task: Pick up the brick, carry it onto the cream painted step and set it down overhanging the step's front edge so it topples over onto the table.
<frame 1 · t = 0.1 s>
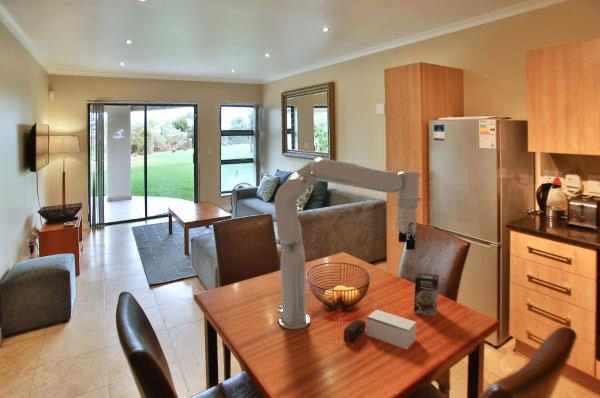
hand: (406, 245, 143), 31 cm above the table, tool pointing down, fingers open, 9 cm apart
step: (390, 337, 135), on the table
brick: (354, 336, 137), on the table
coffee box: (425, 312, 154), on the table
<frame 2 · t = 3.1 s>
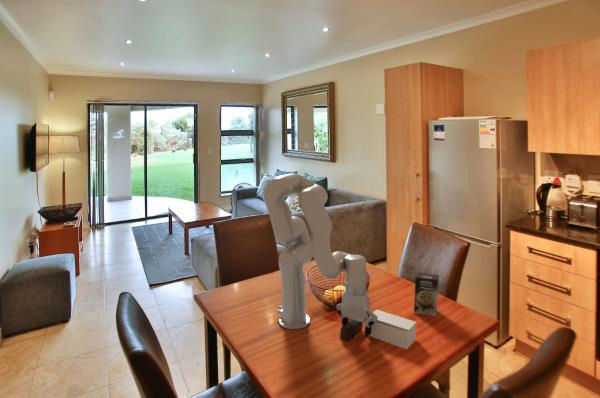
hand: (356, 331, 136), 2 cm above the table, tool pointing down, fingers open, 9 cm apart
brick: (351, 335, 138), on the table
everything else where it was.
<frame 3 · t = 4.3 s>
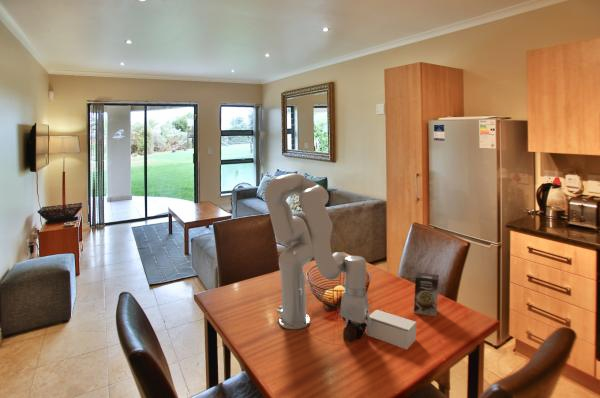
hand: (354, 334, 137), 0 cm above the table, tool pointing down, fingers closed on brick, 4 cm apart
brick: (354, 336, 137), on the table, touching gripper
everything else where it was.
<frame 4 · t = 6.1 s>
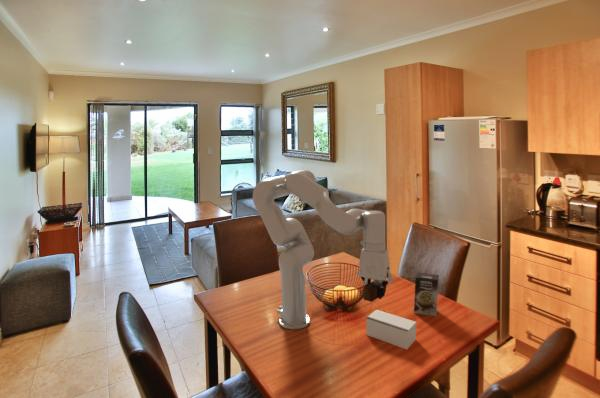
hand: (375, 295, 129), 18 cm above the table, tool pointing down, fingers closed on brick, 4 cm apart
brick: (375, 296, 129), point 18 cm above the table, touching gripper
everything else where it was.
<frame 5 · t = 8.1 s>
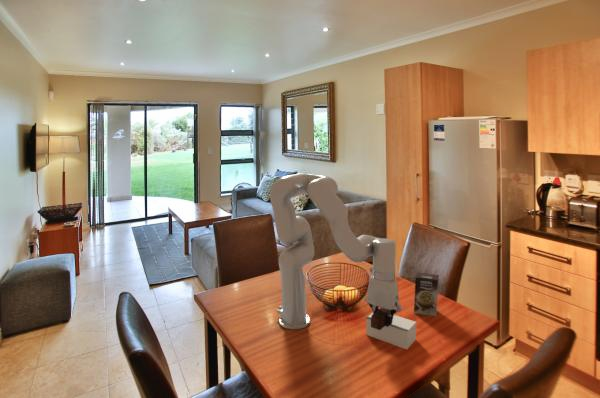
hand: (382, 322, 129), 9 cm above the table, tool pointing down, fingers closed on brick, 4 cm apart
brick: (382, 323, 129), point 8 cm above the table, touching gripper
everything else where it was.
when the fingers open (9 cm above the table, at t = 8.3 s): brick drops 3 cm, point 5 cm above the table.
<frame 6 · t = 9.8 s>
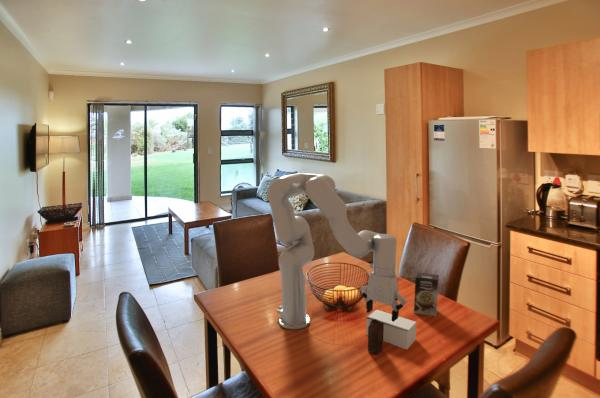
hand: (381, 315, 129), 11 cm above the table, tool pointing down, fingers open, 9 cm apart
brick: (379, 333, 128), point 5 cm above the table
everything else where it was.
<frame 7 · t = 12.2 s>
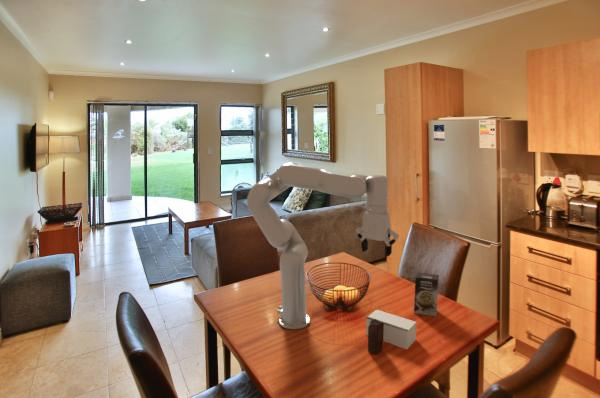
hand: (376, 253, 137), 30 cm above the table, tool pointing down, fingers open, 9 cm apart
nothing on the table moved.
at the end: brick tilted 90°; brick inside the target area (2.6 cm from its centre), point 5.3 cm above the table; the gripper is holding nothing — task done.
